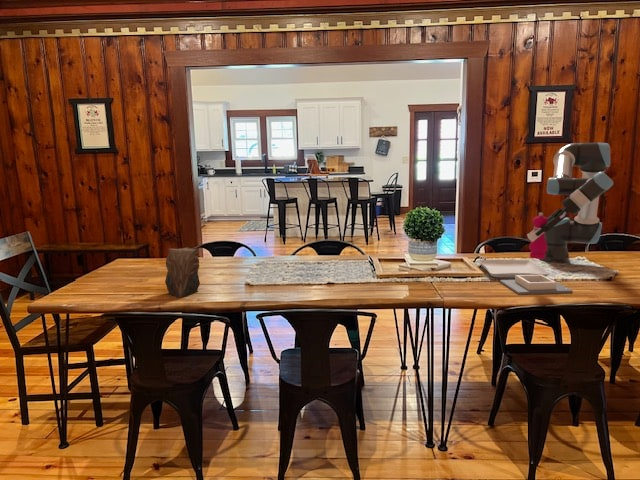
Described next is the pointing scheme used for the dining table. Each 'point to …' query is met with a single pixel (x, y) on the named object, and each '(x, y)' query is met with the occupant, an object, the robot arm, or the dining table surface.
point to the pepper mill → (539, 239)
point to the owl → (182, 272)
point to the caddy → (534, 285)
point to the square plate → (512, 268)
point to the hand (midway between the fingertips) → (529, 238)
